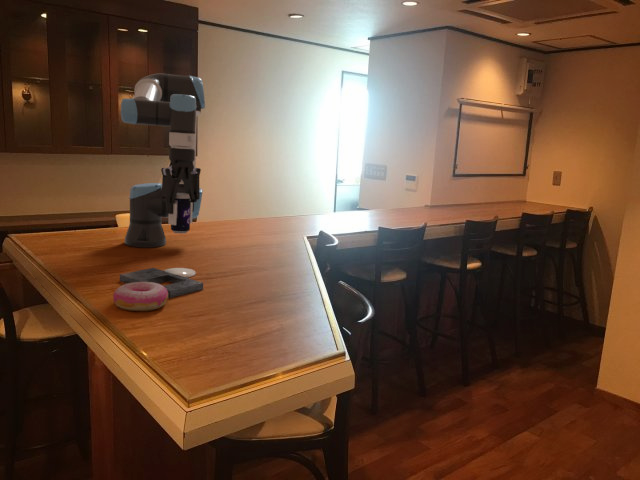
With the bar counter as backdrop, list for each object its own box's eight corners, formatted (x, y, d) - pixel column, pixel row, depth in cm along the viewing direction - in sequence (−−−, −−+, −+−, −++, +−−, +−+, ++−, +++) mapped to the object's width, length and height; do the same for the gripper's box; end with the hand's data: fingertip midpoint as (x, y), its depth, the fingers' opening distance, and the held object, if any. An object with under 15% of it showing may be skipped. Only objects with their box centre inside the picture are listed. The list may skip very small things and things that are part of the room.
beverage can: (184, 234, 159) (185, 195, 157) (167, 232, 160) (168, 193, 158) (192, 231, 165) (193, 193, 162) (176, 229, 166) (176, 192, 164)
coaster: (155, 273, 164) (155, 271, 164) (180, 268, 172) (180, 266, 172) (177, 280, 158) (177, 278, 158) (202, 274, 167) (202, 272, 167)
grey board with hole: (119, 281, 153) (119, 274, 153) (153, 273, 163) (153, 267, 163) (170, 298, 141) (170, 291, 141) (203, 289, 151) (203, 282, 151)
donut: (126, 295, 142) (126, 277, 141) (174, 299, 142) (175, 281, 141) (104, 311, 129) (104, 292, 128) (158, 316, 128) (158, 296, 127)
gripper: (165, 147, 148) (164, 228, 152) (213, 149, 163) (211, 222, 168) (148, 145, 152) (147, 224, 156) (196, 147, 167) (194, 219, 172)
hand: (180, 223), depth 162 cm, fingers closed on beverage can, 6 cm apart
